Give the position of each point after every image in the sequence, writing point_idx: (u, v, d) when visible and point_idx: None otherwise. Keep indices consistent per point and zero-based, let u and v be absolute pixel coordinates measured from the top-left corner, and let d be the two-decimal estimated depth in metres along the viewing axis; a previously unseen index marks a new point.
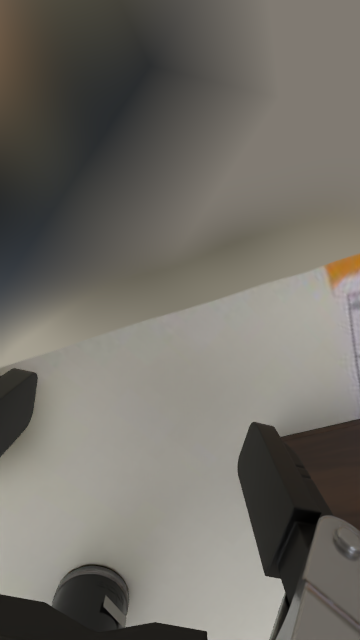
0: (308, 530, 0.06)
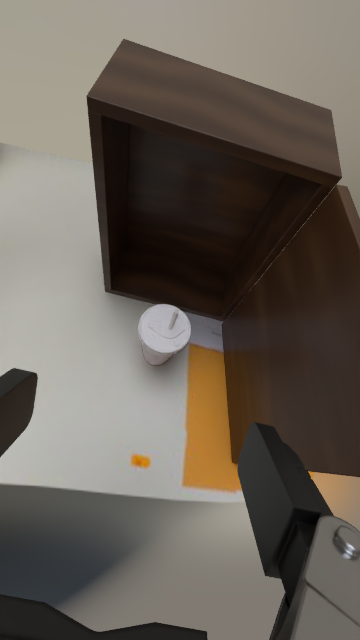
0: (308, 530, 0.06)
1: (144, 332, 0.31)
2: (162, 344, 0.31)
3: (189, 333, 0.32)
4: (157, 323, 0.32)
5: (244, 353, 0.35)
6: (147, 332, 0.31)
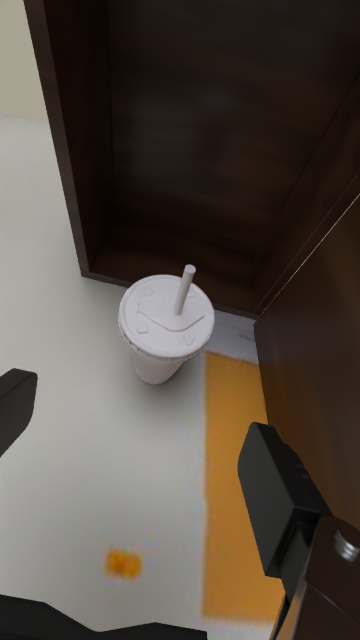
0: (308, 530, 0.06)
1: (129, 319, 0.17)
2: (162, 341, 0.17)
3: (212, 323, 0.18)
4: (153, 304, 0.18)
5: (306, 361, 0.20)
6: (135, 320, 0.17)
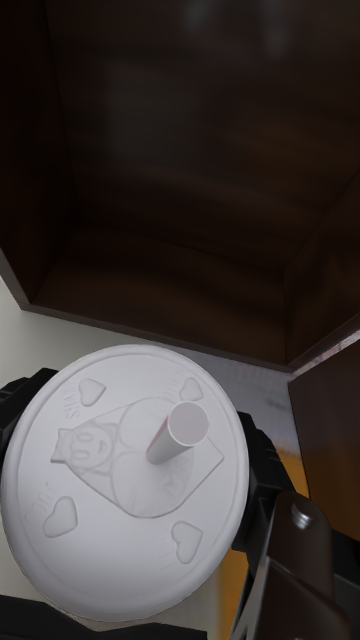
0: (270, 505, 0.07)
1: (28, 489, 0.06)
2: (113, 559, 0.06)
3: (243, 476, 0.07)
4: (98, 436, 0.07)
5: None
6: (44, 488, 0.06)
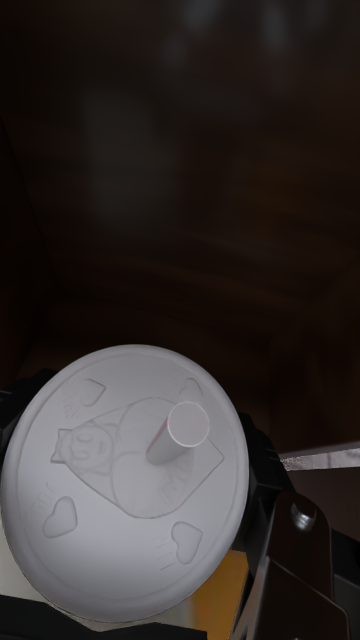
0: (270, 505, 0.07)
1: (28, 490, 0.06)
2: (113, 559, 0.06)
3: (243, 477, 0.07)
4: (98, 436, 0.07)
5: None
6: (44, 487, 0.06)
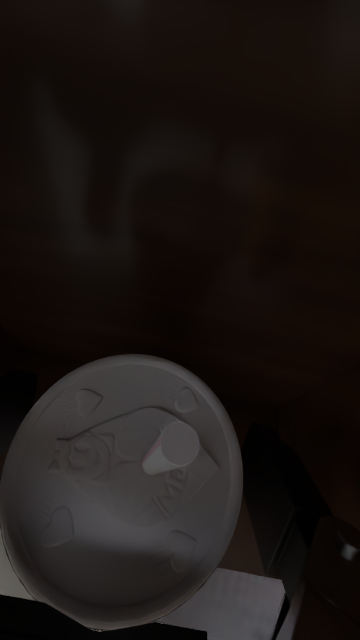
0: (308, 530, 0.06)
1: (26, 499, 0.07)
2: (109, 568, 0.06)
3: (237, 486, 0.07)
4: (95, 446, 0.07)
5: None
6: (42, 498, 0.07)
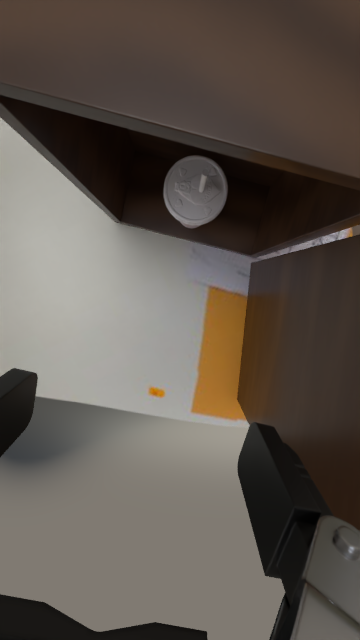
0: (308, 530, 0.06)
1: (170, 196, 0.27)
2: (191, 212, 0.27)
3: (225, 197, 0.27)
4: (186, 184, 0.26)
5: (261, 322, 0.31)
6: (174, 196, 0.27)
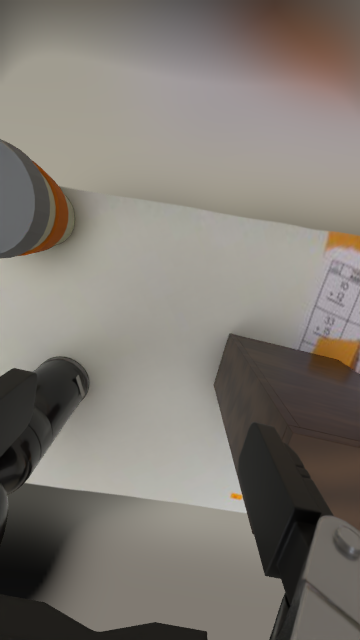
0: (308, 530, 0.06)
1: None
2: None
3: None
4: None
5: None
6: None
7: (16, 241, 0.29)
